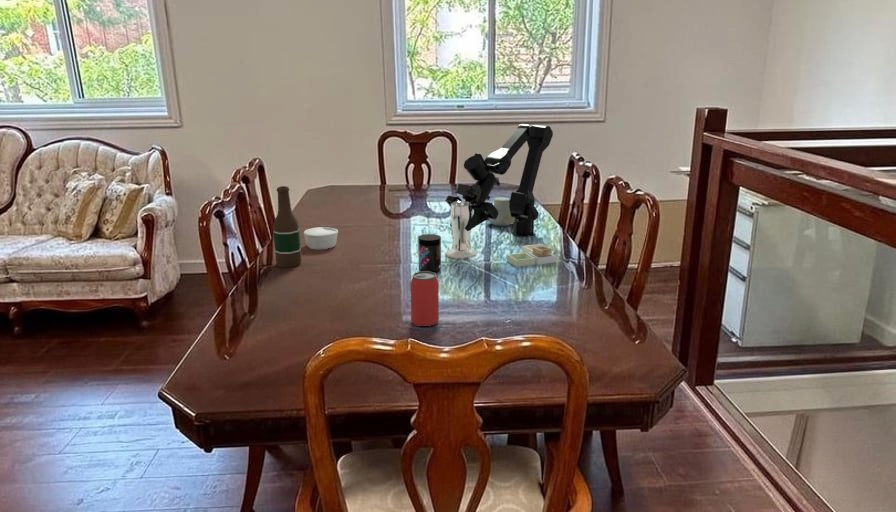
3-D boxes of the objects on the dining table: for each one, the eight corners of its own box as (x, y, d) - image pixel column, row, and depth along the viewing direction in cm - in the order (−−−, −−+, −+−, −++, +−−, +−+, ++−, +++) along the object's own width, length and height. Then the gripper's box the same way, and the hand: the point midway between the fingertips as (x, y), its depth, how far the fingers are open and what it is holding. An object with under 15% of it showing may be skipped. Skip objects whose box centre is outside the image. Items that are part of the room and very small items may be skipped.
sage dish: (524, 259, 192) (525, 252, 191) (534, 265, 186) (535, 258, 185) (506, 262, 189) (506, 254, 189) (516, 268, 184) (516, 260, 183)
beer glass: (466, 253, 192) (466, 206, 188) (447, 250, 196) (446, 204, 191) (476, 247, 198) (476, 202, 193) (457, 244, 201) (457, 200, 197)
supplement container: (419, 266, 185) (419, 233, 182) (442, 267, 185) (442, 234, 182) (417, 274, 179) (416, 240, 176) (440, 274, 178) (440, 240, 175)
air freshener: (499, 229, 227) (499, 202, 224) (483, 224, 233) (483, 199, 230) (519, 224, 234) (519, 198, 231) (503, 220, 240) (504, 195, 237)
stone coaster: (469, 248, 203) (469, 246, 203) (481, 256, 195) (481, 255, 194) (441, 251, 200) (441, 250, 200) (452, 260, 191) (452, 258, 191)
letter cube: (542, 257, 192) (542, 245, 191) (550, 261, 189) (551, 248, 188) (532, 259, 190) (532, 247, 189) (540, 263, 187) (541, 250, 186)
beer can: (410, 317, 149) (409, 270, 145) (437, 316, 149) (437, 269, 146) (411, 328, 142) (410, 280, 139) (439, 327, 143) (439, 279, 139)
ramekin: (345, 243, 209) (344, 228, 208) (325, 252, 200) (324, 237, 198) (318, 239, 214) (317, 225, 212) (298, 248, 204) (296, 233, 202)
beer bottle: (307, 261, 190) (301, 185, 183) (293, 269, 183) (286, 190, 176) (285, 259, 193) (279, 183, 185) (270, 266, 186) (263, 188, 178)
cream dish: (539, 251, 200) (539, 243, 200) (549, 256, 195) (550, 249, 194) (522, 253, 198) (522, 245, 197) (531, 258, 193) (532, 251, 192)
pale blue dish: (545, 257, 194) (545, 250, 193) (555, 263, 188) (556, 256, 187) (527, 260, 191) (527, 252, 191) (537, 266, 186) (537, 258, 185)
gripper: (449, 170, 198) (425, 209, 194) (493, 177, 186) (468, 219, 182) (465, 190, 206) (442, 228, 202) (508, 198, 194) (485, 239, 190)
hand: (458, 228), depth 194 cm, fingers closed on beer glass, 6 cm apart
